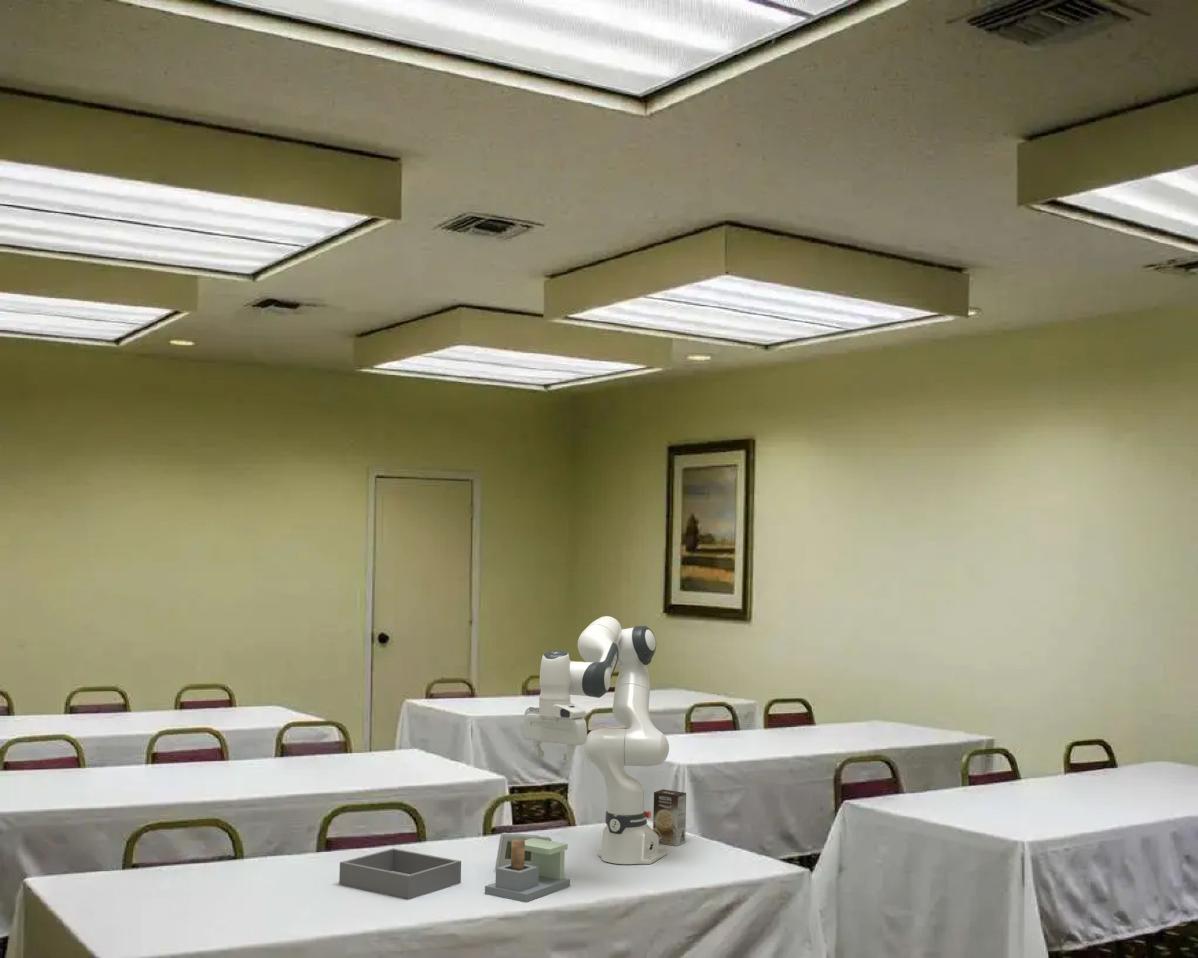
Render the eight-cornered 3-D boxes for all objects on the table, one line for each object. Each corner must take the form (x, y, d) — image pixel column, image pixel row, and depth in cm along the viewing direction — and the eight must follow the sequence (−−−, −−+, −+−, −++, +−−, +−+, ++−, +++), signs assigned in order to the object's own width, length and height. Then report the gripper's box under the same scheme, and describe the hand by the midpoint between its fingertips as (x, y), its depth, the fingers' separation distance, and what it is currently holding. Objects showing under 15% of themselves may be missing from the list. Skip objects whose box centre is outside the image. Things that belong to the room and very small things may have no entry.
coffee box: (651, 842, 411) (652, 791, 412) (661, 838, 416) (662, 788, 417) (676, 846, 406) (677, 794, 407) (686, 842, 411) (687, 792, 412)
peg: (507, 886, 346) (508, 841, 347) (515, 883, 349) (516, 838, 350) (518, 888, 344) (519, 842, 345) (526, 885, 347) (527, 840, 348)
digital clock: (491, 871, 370) (492, 834, 370) (510, 865, 377) (511, 829, 378) (538, 880, 361) (539, 841, 362) (556, 873, 369) (556, 836, 370)
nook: (529, 878, 362) (530, 837, 363) (569, 886, 355) (570, 844, 355) (484, 893, 346) (485, 850, 347) (526, 901, 338) (527, 857, 339)
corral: (392, 869, 371) (393, 848, 371) (460, 882, 357) (461, 860, 357) (339, 884, 353) (339, 862, 353) (408, 899, 339) (409, 876, 339)
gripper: (518, 707, 365) (517, 756, 365) (577, 712, 354) (576, 763, 353) (531, 705, 371) (530, 753, 370) (590, 710, 359) (589, 760, 358)
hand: (553, 758), depth 361 cm, fingers open, 8 cm apart
